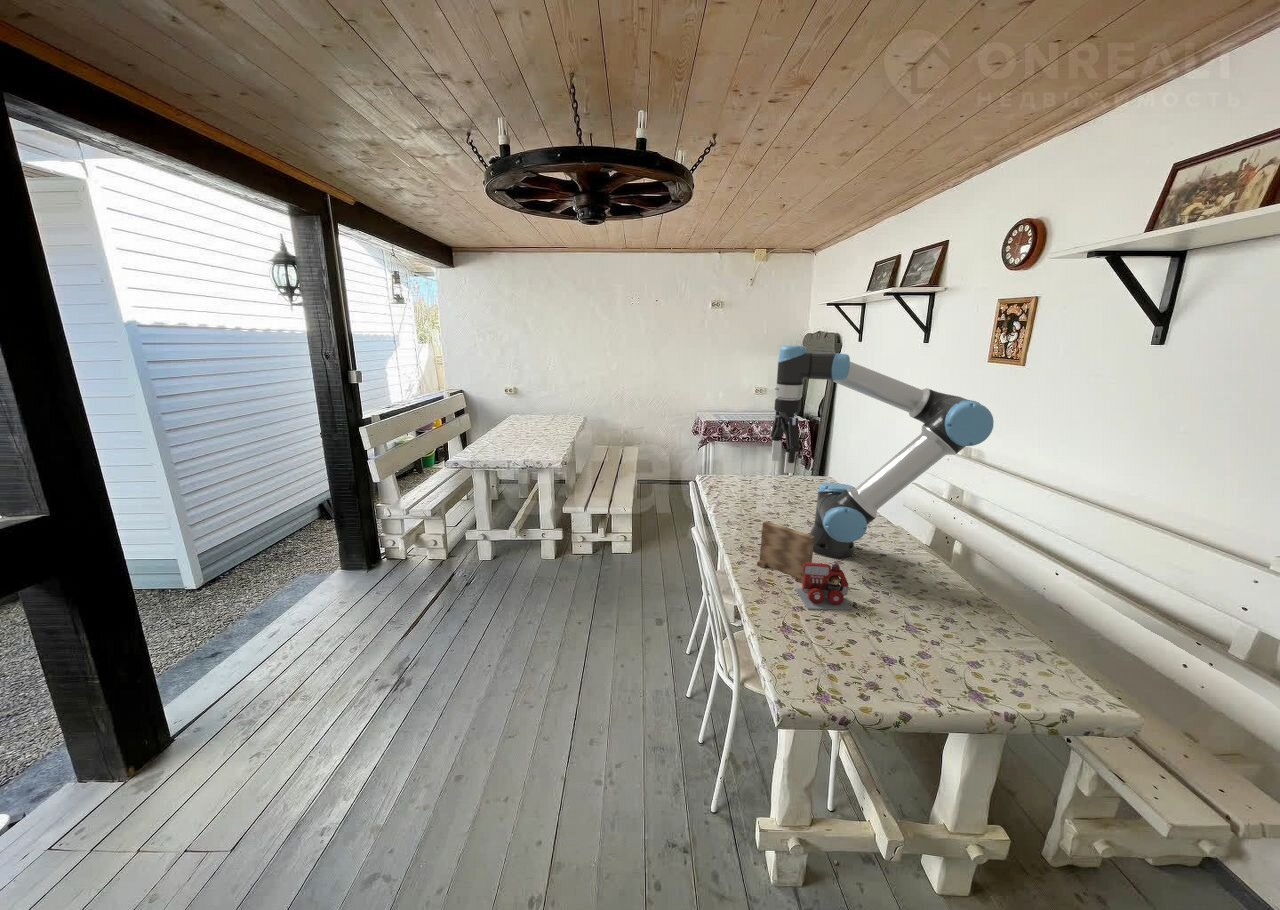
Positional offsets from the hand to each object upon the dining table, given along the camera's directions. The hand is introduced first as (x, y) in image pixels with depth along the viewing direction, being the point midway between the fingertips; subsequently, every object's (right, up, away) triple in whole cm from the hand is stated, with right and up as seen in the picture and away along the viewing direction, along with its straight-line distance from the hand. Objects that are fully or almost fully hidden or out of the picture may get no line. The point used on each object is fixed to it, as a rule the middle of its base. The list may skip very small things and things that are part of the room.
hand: (781, 466), depth 145 cm
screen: (+1, -33, +1) cm, 33 cm away
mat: (+7, -37, -15) cm, 40 cm away
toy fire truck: (+7, -37, -15) cm, 40 cm away
